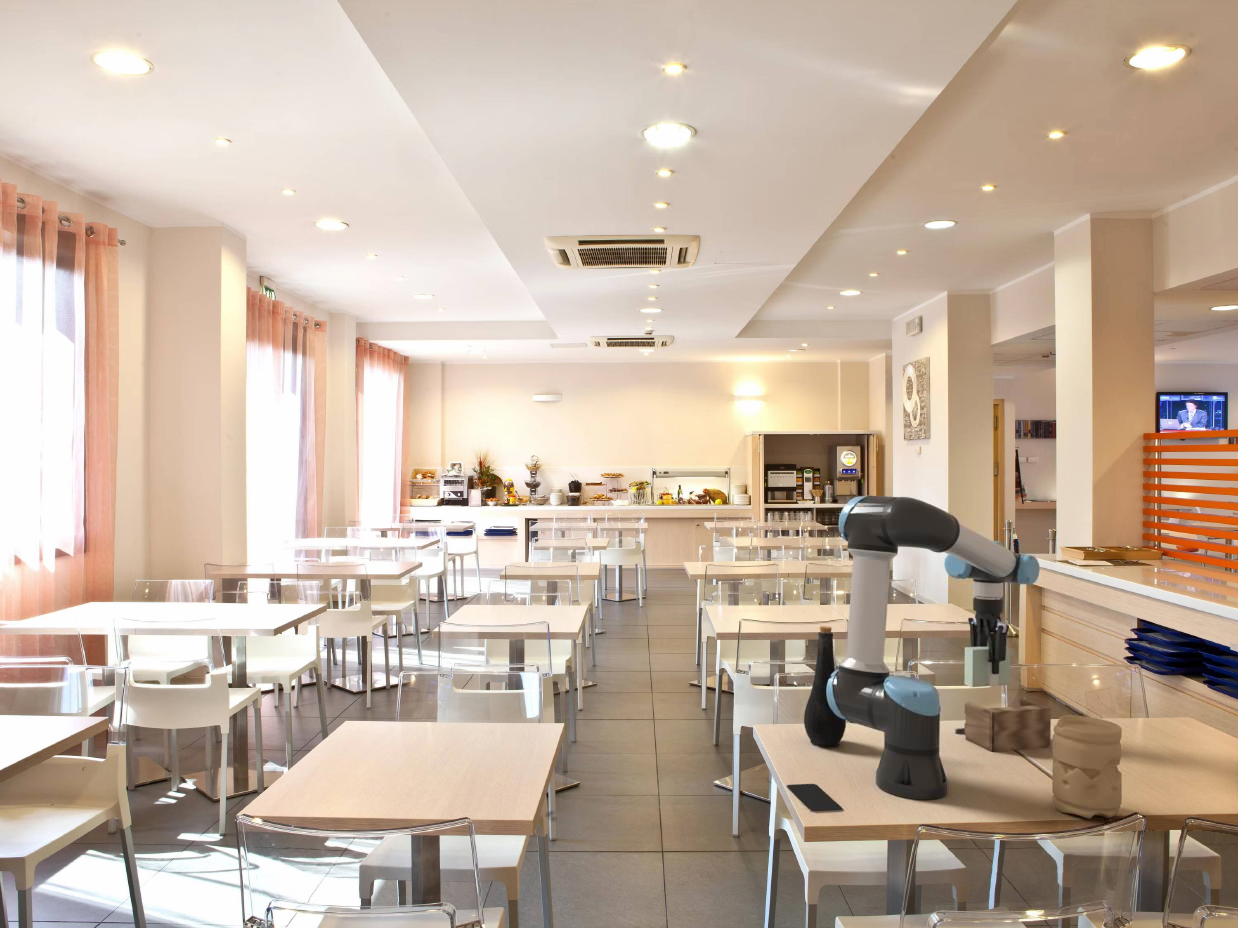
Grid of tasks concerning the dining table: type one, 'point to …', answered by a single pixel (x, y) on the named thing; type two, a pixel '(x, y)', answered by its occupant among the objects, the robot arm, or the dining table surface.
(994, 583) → the robot arm
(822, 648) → the bottle
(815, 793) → the smartphone
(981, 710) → the cabinet
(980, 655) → the door
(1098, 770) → the container
